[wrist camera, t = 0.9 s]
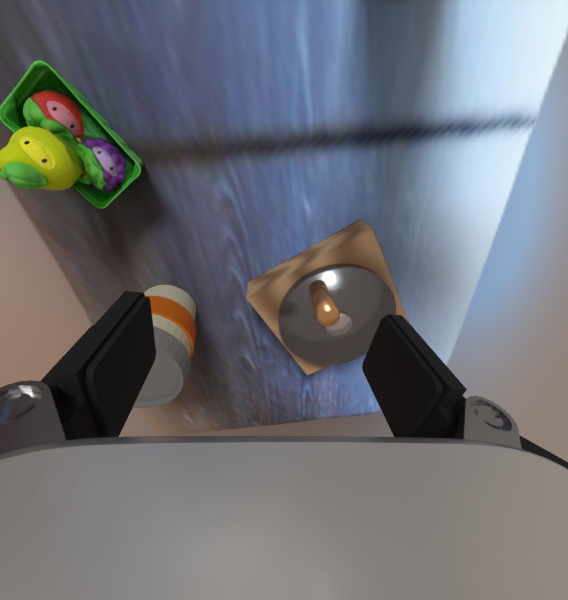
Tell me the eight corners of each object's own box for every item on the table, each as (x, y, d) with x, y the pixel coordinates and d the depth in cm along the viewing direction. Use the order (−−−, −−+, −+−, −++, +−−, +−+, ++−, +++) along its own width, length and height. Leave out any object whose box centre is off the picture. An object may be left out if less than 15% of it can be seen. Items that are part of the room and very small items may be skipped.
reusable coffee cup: (218, 326, 47) (202, 396, 34) (154, 343, 48) (115, 417, 35) (187, 265, 40) (153, 324, 27) (113, 286, 41) (46, 352, 28)
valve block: (360, 219, 38) (373, 229, 34) (398, 312, 48) (411, 329, 44) (247, 282, 42) (246, 298, 38) (303, 356, 52) (307, 375, 48)
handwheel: (369, 240, 34) (398, 267, 27) (404, 328, 43) (433, 367, 36) (255, 301, 38) (254, 339, 31) (309, 371, 47) (318, 413, 40)
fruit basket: (159, 166, 33) (118, 177, 23) (114, 208, 35) (59, 235, 25) (73, 67, 27) (-27, 29, 18) (26, 125, 30) (-85, 119, 20)
